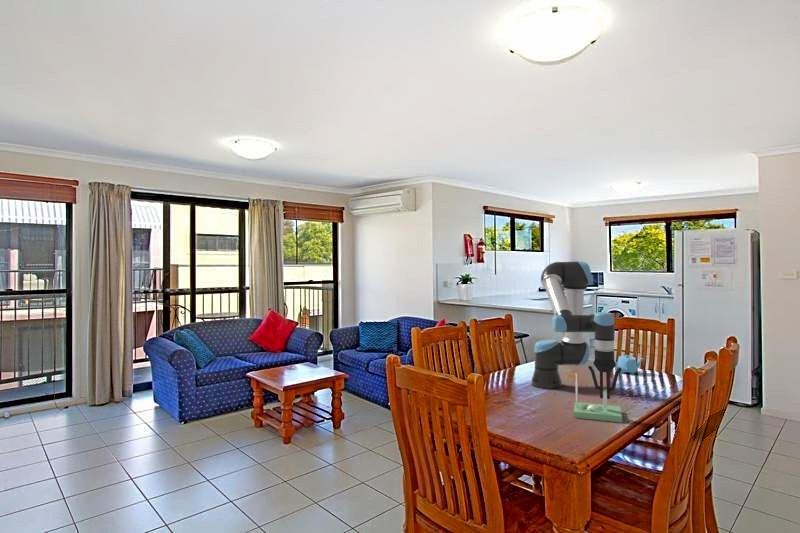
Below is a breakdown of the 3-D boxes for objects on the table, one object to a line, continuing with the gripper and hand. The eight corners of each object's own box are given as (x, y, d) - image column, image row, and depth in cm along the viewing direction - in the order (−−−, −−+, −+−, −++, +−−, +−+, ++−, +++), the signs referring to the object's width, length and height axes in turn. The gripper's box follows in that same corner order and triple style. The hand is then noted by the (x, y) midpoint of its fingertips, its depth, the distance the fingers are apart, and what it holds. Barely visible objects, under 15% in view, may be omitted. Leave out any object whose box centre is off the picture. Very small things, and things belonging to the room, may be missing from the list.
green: (567, 416, 192) (566, 377, 192) (568, 407, 205) (568, 369, 205) (622, 422, 185) (621, 381, 185) (620, 412, 198) (619, 373, 197)
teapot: (610, 373, 265) (609, 356, 265) (610, 368, 278) (610, 351, 278) (645, 376, 257) (645, 358, 257) (644, 371, 270) (644, 354, 270)
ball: (585, 406, 194) (594, 405, 193) (586, 404, 198) (594, 403, 196) (588, 415, 194) (597, 414, 193) (588, 413, 197) (597, 412, 196)
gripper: (587, 350, 192) (588, 407, 192) (622, 352, 187) (622, 410, 187) (587, 347, 199) (588, 402, 199) (621, 349, 194) (621, 405, 194)
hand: (605, 406), depth 193 cm, fingers closed
